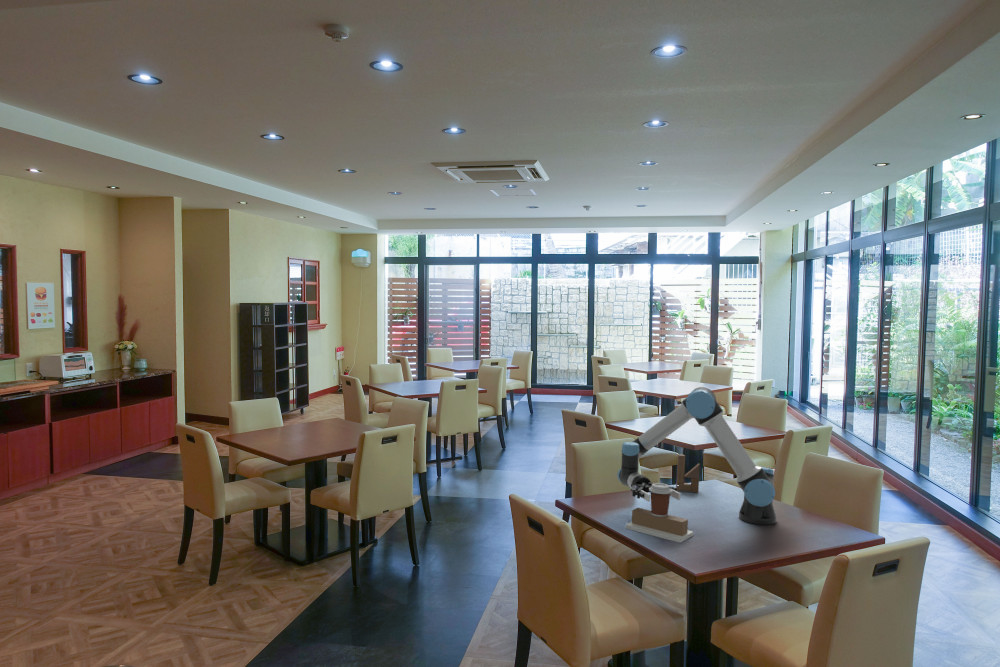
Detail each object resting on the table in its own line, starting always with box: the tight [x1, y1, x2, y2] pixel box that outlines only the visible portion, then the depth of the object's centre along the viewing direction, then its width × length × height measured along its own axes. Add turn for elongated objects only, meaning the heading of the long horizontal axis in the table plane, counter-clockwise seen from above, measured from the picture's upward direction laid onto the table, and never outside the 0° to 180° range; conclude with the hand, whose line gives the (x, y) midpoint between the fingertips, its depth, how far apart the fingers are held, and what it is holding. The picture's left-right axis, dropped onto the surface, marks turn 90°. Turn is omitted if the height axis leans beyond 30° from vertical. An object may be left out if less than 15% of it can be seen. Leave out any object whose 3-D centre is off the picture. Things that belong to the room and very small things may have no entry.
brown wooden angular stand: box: [675, 454, 700, 494], centre depth 327 cm, size 4×11×18 cm, turn 76°
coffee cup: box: [649, 482, 672, 517], centre depth 263 cm, size 9×9×12 cm
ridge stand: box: [624, 507, 694, 544], centre depth 263 cm, size 24×12×7 cm, turn 50°
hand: (664, 497), depth 260 cm, fingers open, 13 cm apart
